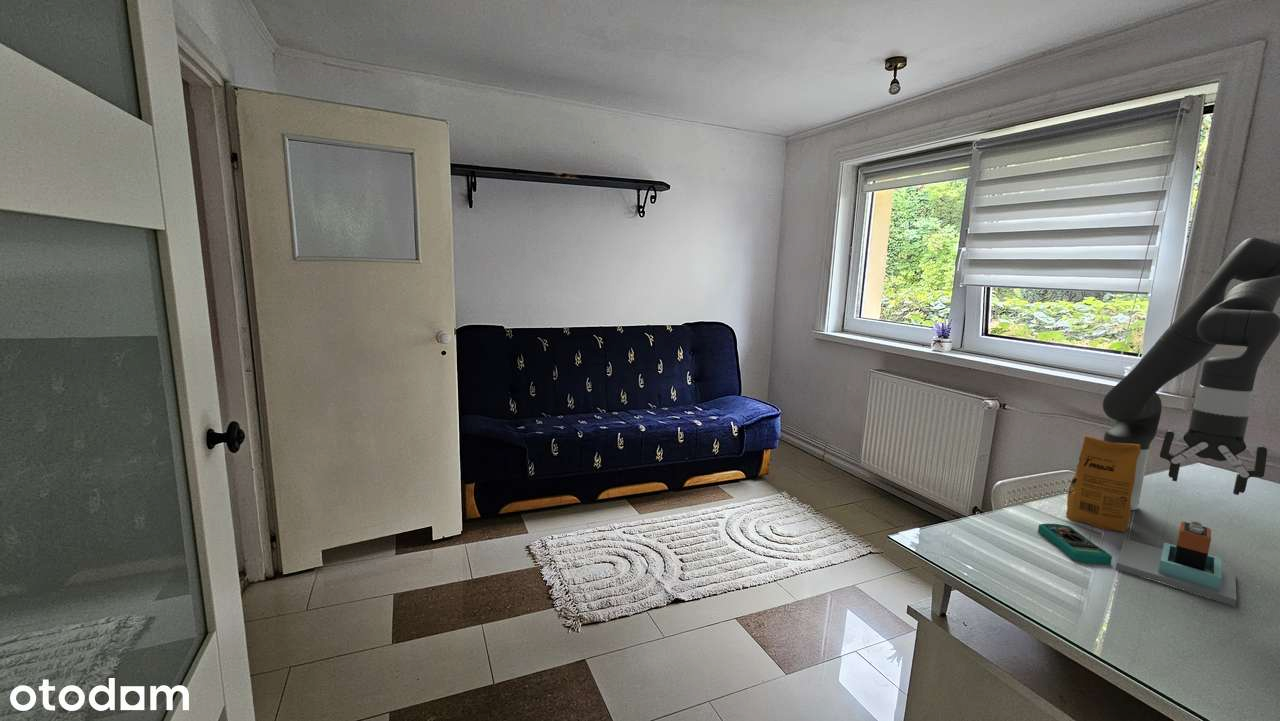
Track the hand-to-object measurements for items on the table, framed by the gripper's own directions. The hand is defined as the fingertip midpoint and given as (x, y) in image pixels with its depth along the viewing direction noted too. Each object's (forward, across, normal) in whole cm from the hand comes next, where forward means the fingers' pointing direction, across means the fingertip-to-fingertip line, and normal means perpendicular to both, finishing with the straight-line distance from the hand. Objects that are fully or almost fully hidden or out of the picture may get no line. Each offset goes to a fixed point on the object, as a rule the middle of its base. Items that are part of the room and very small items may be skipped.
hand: (1204, 486), depth 105 cm
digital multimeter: (+21, -18, -3) cm, 28 cm away
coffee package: (+20, -17, +19) cm, 32 cm away
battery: (+19, 0, 0) cm, 19 cm away
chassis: (+20, -2, 0) cm, 20 cm away
